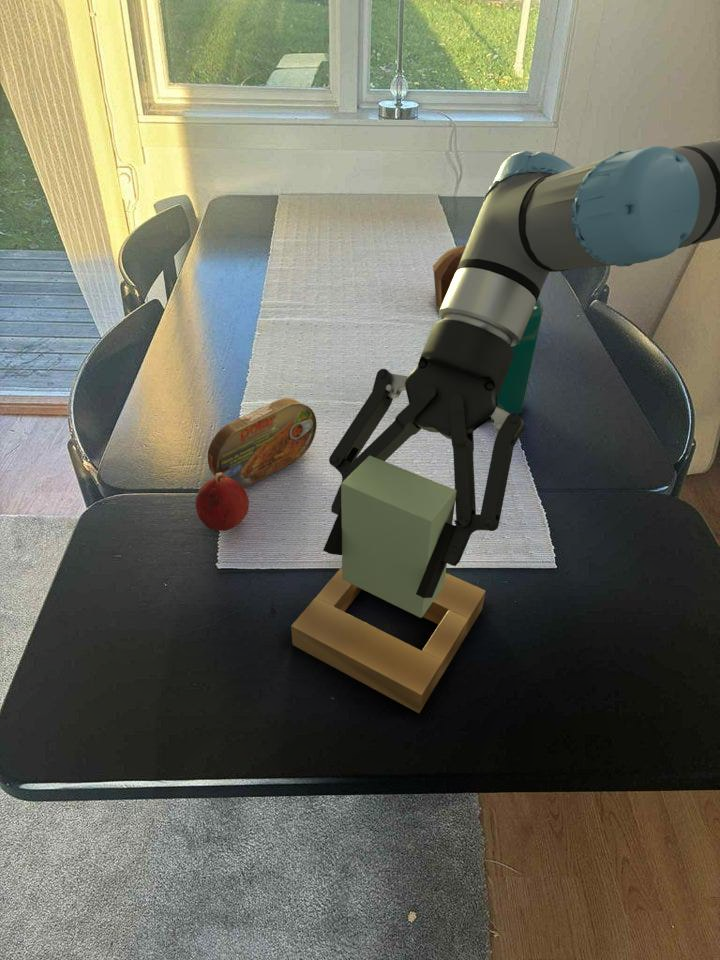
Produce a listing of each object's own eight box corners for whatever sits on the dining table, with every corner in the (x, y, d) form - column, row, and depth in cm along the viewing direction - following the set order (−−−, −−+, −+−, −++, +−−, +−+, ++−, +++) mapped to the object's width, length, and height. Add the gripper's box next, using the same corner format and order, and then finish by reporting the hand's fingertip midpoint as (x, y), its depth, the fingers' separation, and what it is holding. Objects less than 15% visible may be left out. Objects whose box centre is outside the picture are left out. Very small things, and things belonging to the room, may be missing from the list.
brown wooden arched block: (496, 322, 119) (505, 266, 113) (431, 320, 119) (437, 264, 113) (488, 291, 128) (496, 237, 122) (428, 289, 128) (433, 235, 122)
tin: (222, 500, 84) (214, 445, 78) (208, 487, 86) (199, 432, 80) (319, 449, 92) (317, 395, 86) (303, 438, 94) (301, 385, 88)
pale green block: (367, 550, 69) (369, 455, 61) (444, 586, 65) (456, 489, 58) (341, 579, 66) (340, 483, 58) (421, 618, 63) (431, 521, 55)
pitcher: (497, 383, 105) (521, 239, 90) (528, 414, 99) (560, 265, 85) (439, 396, 102) (455, 249, 87) (467, 428, 96) (489, 277, 82)
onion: (233, 552, 78) (225, 499, 72) (190, 536, 79) (179, 483, 74) (260, 519, 82) (255, 466, 76) (218, 504, 83) (210, 452, 78)
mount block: (365, 556, 78) (366, 537, 76) (482, 609, 72) (486, 590, 70) (292, 645, 68) (290, 625, 66) (419, 713, 63) (421, 695, 61)
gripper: (598, 382, 60) (497, 624, 60) (384, 317, 69) (295, 530, 69) (594, 355, 53) (481, 629, 53) (356, 286, 62) (258, 524, 62)
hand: (377, 573), depth 61 cm, fingers closed on pale green block, 8 cm apart
